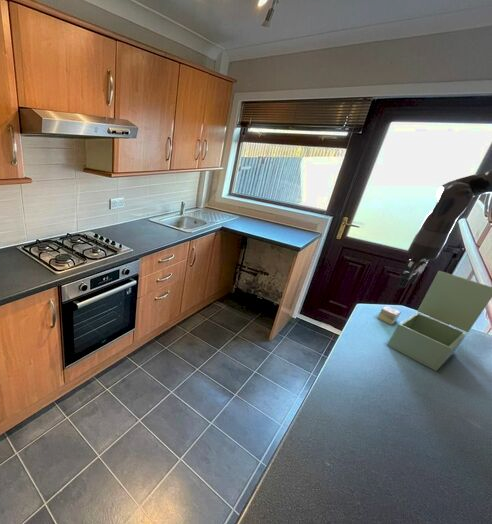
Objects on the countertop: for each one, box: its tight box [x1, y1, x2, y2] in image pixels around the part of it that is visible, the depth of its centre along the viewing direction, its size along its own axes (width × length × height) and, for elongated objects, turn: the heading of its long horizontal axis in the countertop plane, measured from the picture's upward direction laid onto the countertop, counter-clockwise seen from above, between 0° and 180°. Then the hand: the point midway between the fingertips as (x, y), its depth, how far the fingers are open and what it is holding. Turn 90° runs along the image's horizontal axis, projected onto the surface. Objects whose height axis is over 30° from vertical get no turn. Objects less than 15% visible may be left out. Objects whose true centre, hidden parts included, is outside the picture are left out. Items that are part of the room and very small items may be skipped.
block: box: [377, 305, 402, 325], centre depth 107 cm, size 4×4×4 cm
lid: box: [417, 270, 492, 333], centre depth 89 cm, size 16×13×6 cm
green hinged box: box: [386, 311, 468, 372], centre depth 91 cm, size 16×13×9 cm
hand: (405, 284), depth 101 cm, fingers open, 8 cm apart
